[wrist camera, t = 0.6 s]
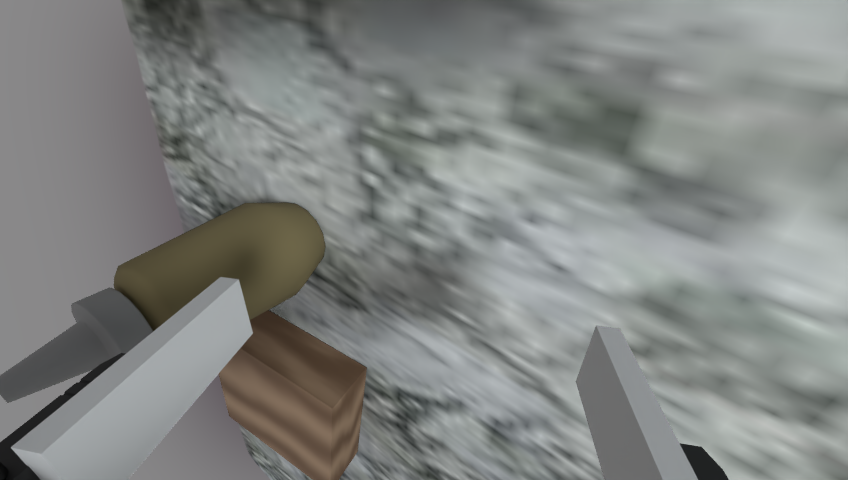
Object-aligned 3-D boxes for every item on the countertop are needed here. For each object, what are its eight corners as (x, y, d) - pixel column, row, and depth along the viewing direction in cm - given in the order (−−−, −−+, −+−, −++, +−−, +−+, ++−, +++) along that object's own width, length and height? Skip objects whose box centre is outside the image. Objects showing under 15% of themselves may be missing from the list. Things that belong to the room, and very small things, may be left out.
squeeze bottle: (321, 290, 31) (73, 479, 17) (259, 235, 32) (-26, 370, 18) (350, 231, 26) (35, 425, 12) (276, 169, 27) (-97, 280, 13)
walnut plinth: (249, 299, 38) (206, 326, 34) (366, 367, 33) (332, 408, 29) (262, 386, 46) (229, 416, 42) (357, 451, 41) (329, 492, 37)
